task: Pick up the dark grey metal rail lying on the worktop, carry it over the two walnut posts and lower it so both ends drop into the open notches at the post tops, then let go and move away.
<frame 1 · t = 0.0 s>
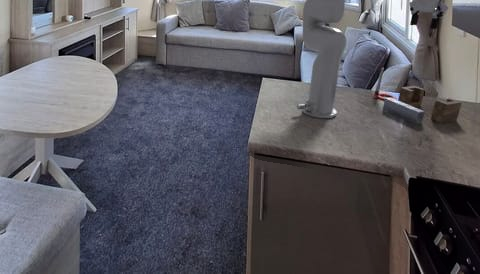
hand: (423, 26, 155), 31 cm above the worktop, tool pointing down, fingers open, 9 cm apart
rail: (401, 116, 150), on the worktop
tow hook: (384, 98, 171), on the worktop
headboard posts: (425, 112, 155), on the worktop
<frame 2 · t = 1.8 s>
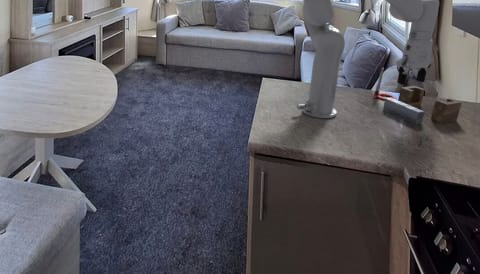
hand: (410, 82, 145), 13 cm above the worktop, tool pointing down, fingers open, 9 cm apart
nothing on the worktop moved.
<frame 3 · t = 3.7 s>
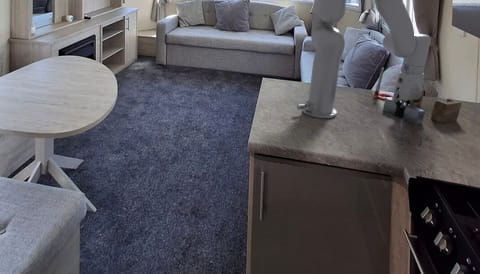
hand: (401, 115, 150), 0 cm above the worktop, tool pointing down, fingers closed on rail, 3 cm apart
rail: (401, 116, 150), on the worktop, touching gripper
everything else where it was.
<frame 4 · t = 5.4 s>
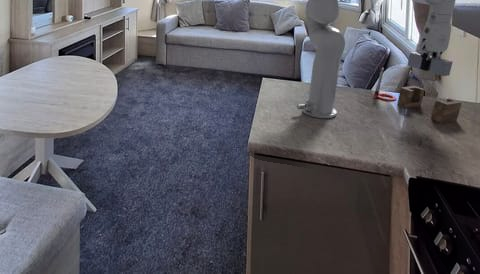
hand: (427, 69, 146), 18 cm above the worktop, tool pointing down, fingers closed on rail, 3 cm apart
rail: (427, 70, 146), point 18 cm above the worktop, touching gripper
everything else where it was.
when the fingers open (4 cm above the worktop, at t = 7.5 s): rail drops 1 cm, resting on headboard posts.
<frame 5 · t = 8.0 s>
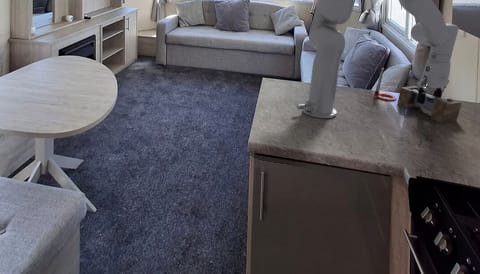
hand: (428, 101, 154), 5 cm above the worktop, tool pointing down, fingers open, 8 cm apart
rail: (426, 107, 155), point 2 cm above the worktop, touching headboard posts
everything else where it was.
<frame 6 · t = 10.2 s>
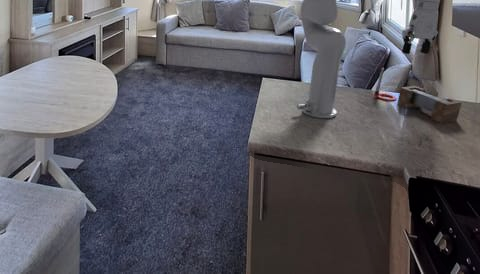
hand: (415, 53, 149), 22 cm above the worktop, tool pointing down, fingers open, 9 cm apart
nothing on the worktop moved.
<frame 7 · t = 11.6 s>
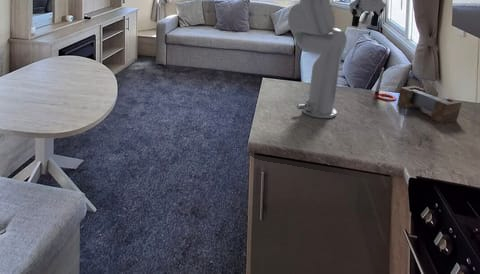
hand: (364, 26, 155), 30 cm above the worktop, tool pointing down, fingers open, 9 cm apart
nothing on the worktop moved.
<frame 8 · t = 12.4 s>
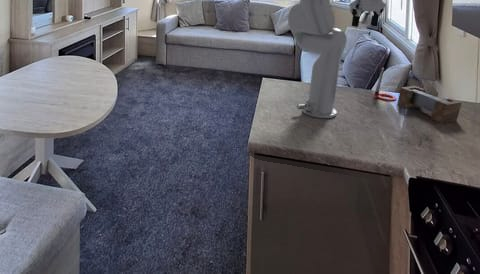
hand: (364, 26, 155), 30 cm above the worktop, tool pointing down, fingers open, 9 cm apart
nothing on the worktop moved.
at the end: rail 0.1 cm off-centre on the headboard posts, point 2.0 cm above the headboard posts's base; rail tilted 0°; the gripper is holding nothing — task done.
